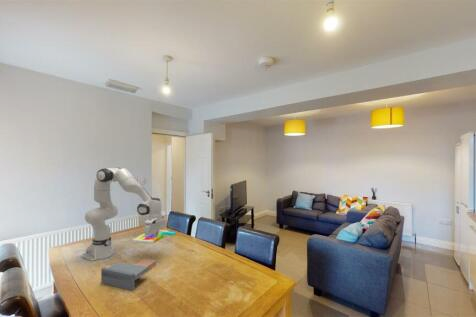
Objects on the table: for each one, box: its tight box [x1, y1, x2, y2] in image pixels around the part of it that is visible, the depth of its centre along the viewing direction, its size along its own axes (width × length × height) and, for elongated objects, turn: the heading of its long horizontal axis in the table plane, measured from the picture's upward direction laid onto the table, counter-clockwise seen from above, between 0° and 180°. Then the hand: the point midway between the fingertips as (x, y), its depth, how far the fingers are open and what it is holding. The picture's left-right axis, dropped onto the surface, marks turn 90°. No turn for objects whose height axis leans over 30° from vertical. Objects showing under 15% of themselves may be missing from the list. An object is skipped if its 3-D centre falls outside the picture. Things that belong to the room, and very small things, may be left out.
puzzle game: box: [131, 229, 177, 245], centre depth 209 cm, size 30×3×30 cm
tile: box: [135, 258, 157, 271], centre depth 151 cm, size 10×14×4 cm
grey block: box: [100, 261, 149, 291], centre depth 135 cm, size 24×13×9 cm, turn 72°
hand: (155, 237), depth 163 cm, fingers closed
